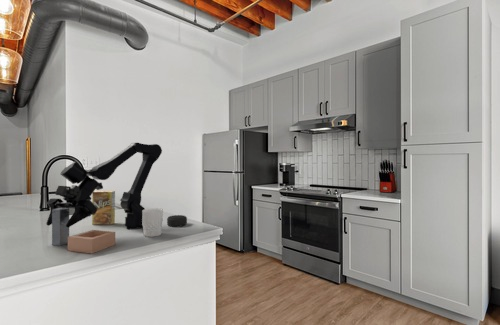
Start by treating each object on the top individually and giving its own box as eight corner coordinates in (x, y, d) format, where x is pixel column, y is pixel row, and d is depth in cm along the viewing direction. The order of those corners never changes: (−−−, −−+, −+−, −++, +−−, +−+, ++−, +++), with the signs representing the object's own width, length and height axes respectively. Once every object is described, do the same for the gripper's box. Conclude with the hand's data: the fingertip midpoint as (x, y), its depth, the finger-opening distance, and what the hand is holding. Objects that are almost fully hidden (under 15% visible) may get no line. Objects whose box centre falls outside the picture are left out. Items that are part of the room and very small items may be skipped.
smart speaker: (163, 225, 130) (163, 216, 130) (179, 222, 137) (179, 214, 137) (174, 228, 124) (174, 219, 124) (190, 225, 131) (190, 216, 131)
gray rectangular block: (61, 242, 102) (61, 207, 102) (69, 242, 101) (69, 208, 101) (52, 244, 99) (52, 209, 99) (59, 245, 98) (59, 209, 98)
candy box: (91, 224, 130) (91, 191, 130) (96, 222, 134) (96, 190, 134) (111, 224, 130) (111, 191, 130) (115, 222, 134) (115, 190, 134)
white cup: (166, 233, 115) (167, 209, 115) (152, 238, 108) (152, 212, 108) (152, 231, 118) (152, 207, 118) (137, 235, 111) (137, 210, 111)
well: (92, 242, 102) (92, 229, 102) (115, 244, 99) (115, 231, 99) (67, 250, 93) (67, 236, 93) (91, 253, 90) (91, 239, 90)
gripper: (51, 177, 106) (20, 210, 96) (90, 178, 101) (62, 214, 90) (70, 195, 114) (43, 228, 103) (107, 197, 109) (83, 232, 98)
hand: (57, 225), depth 99 cm, fingers open, 9 cm apart
